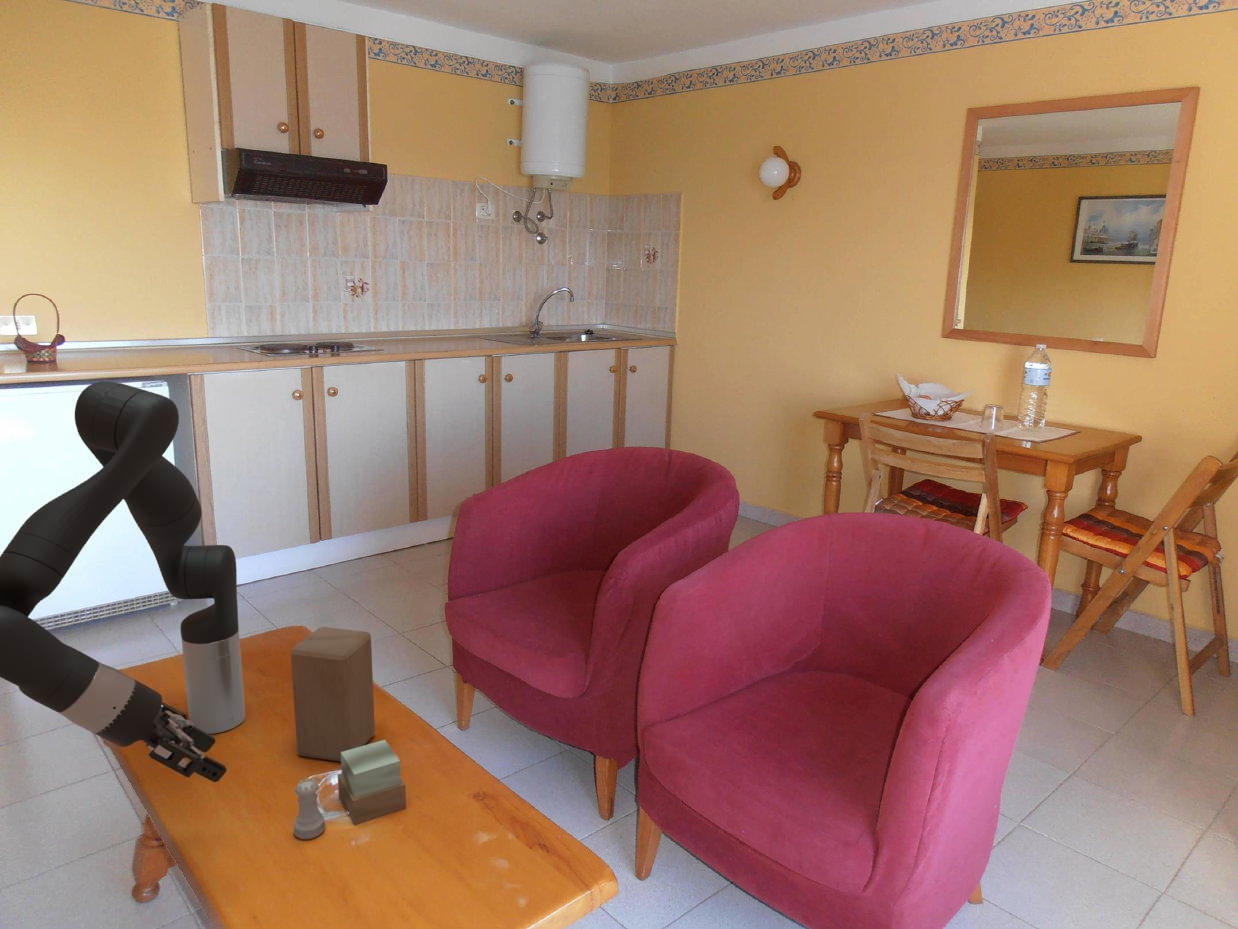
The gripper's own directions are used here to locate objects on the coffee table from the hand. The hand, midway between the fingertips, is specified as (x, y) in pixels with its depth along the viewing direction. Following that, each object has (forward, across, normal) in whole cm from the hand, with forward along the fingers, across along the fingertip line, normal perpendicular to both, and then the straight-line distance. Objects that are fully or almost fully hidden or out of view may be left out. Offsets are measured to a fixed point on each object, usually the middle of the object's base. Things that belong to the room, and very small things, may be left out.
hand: (216, 760), depth 117 cm
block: (+26, +21, -4) cm, 34 cm away
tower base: (+26, +2, -4) cm, 27 cm away
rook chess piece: (+19, 0, +3) cm, 20 cm away
